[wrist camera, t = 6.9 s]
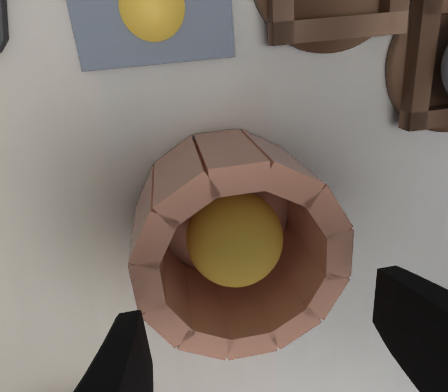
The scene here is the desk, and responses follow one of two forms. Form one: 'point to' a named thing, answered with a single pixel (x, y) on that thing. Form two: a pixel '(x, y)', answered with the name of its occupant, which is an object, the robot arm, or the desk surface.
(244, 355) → the pink faceted bowl
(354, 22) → the round-based square frame stand
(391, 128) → the desk surface
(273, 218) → the mustard ball
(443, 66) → the grey ball
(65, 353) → the desk surface
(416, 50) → the brown cradle
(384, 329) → the robot arm
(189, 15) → the card
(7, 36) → the smartphone
